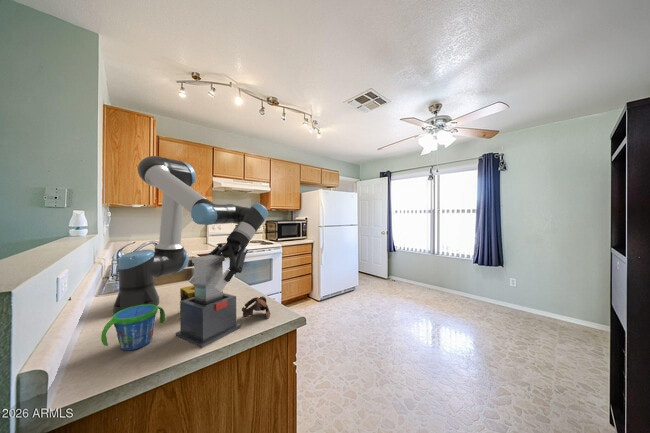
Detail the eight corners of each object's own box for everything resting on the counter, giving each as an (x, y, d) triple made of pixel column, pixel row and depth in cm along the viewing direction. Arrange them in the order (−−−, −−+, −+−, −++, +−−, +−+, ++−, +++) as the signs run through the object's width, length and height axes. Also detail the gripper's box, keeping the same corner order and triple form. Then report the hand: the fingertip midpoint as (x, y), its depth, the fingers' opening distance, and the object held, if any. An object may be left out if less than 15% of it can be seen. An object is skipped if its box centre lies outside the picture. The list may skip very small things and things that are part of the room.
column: (192, 330, 76) (191, 258, 76) (212, 321, 82) (211, 254, 82) (205, 335, 73) (204, 260, 72) (225, 325, 79) (224, 256, 79)
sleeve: (175, 335, 75) (175, 301, 75) (214, 318, 87) (214, 289, 87) (201, 348, 68) (201, 310, 68) (240, 327, 80) (240, 295, 80)
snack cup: (108, 364, 61) (108, 325, 61) (95, 352, 66) (94, 316, 66) (173, 337, 74) (173, 305, 74) (157, 329, 79) (157, 299, 79)
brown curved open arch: (268, 323, 84) (256, 306, 82) (247, 333, 86) (234, 316, 84) (276, 303, 96) (266, 287, 94) (257, 311, 97) (247, 296, 95)
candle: (216, 312, 93) (216, 287, 93) (188, 320, 86) (188, 293, 86) (206, 305, 100) (206, 282, 100) (180, 312, 93) (179, 287, 93)
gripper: (270, 244, 85) (237, 298, 72) (225, 241, 97) (190, 286, 84) (259, 231, 80) (222, 286, 67) (213, 229, 92) (174, 275, 80)
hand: (204, 286), depth 76 cm, fingers open, 13 cm apart
